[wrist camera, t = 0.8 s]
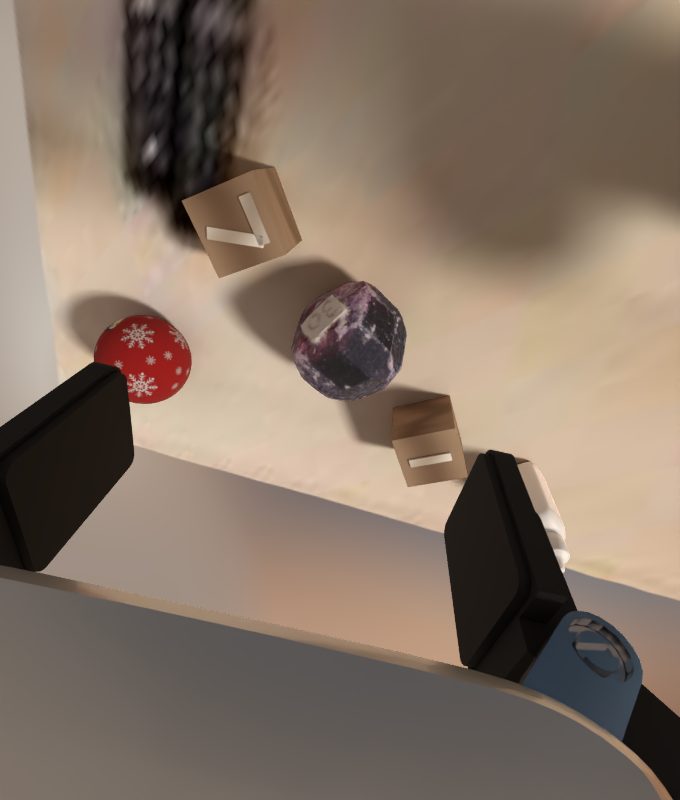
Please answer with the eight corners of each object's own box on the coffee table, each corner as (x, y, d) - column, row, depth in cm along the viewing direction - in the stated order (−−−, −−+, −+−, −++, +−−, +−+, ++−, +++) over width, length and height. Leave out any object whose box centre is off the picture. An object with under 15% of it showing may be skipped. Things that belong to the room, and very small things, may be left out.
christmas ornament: (154, 385, 47) (99, 436, 39) (112, 315, 43) (40, 356, 35) (218, 368, 45) (175, 419, 36) (180, 293, 41) (121, 331, 33)
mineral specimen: (412, 262, 35) (412, 351, 29) (401, 347, 43) (398, 429, 38) (298, 257, 36) (275, 343, 30) (308, 341, 44) (292, 420, 38)
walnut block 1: (449, 395, 43) (455, 429, 38) (461, 440, 46) (468, 478, 40) (393, 407, 45) (391, 442, 39) (407, 450, 47) (407, 488, 42)
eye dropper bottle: (554, 462, 45) (597, 553, 35) (540, 499, 48) (576, 593, 38) (512, 458, 46) (543, 546, 36) (502, 495, 49) (527, 587, 39)
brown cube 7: (274, 167, 34) (251, 170, 29) (302, 239, 37) (284, 255, 32) (213, 193, 36) (180, 201, 31) (243, 261, 39) (218, 278, 33)
